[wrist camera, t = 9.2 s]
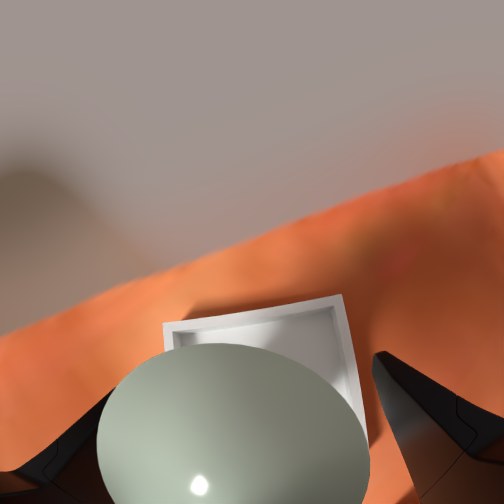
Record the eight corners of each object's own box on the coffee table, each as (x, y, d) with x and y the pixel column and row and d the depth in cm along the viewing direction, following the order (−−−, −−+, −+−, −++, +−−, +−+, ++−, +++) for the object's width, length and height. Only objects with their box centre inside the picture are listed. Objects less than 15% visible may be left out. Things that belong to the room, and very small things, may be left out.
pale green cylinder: (318, 371, 16) (404, 376, 4) (295, 447, 14) (312, 584, 2) (237, 351, 17) (131, 307, 5) (214, 426, 15) (85, 508, 3)
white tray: (362, 456, 14) (370, 465, 12) (196, 478, 14) (186, 488, 12) (335, 301, 18) (341, 293, 16) (174, 327, 18) (162, 322, 17)
